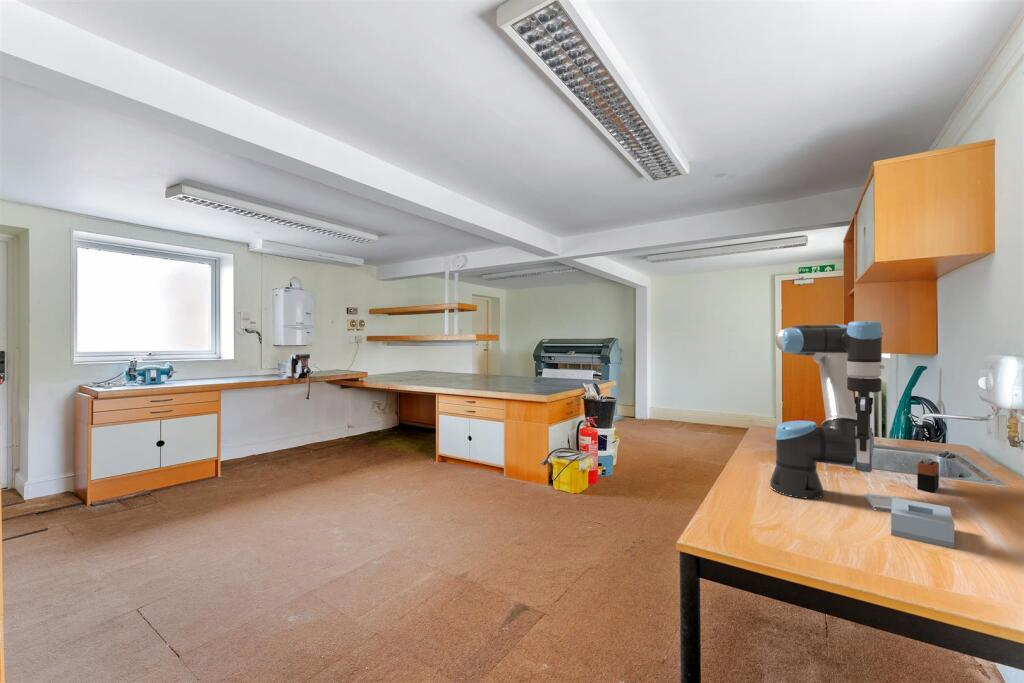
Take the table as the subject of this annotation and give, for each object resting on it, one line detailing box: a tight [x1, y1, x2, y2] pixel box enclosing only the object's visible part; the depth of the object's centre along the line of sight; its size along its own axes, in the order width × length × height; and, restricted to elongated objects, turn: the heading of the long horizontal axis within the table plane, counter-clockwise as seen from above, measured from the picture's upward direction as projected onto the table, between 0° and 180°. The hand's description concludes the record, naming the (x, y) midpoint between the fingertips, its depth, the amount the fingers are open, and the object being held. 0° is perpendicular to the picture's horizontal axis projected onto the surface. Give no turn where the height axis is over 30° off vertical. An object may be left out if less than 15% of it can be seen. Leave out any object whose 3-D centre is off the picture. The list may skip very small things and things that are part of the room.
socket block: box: [890, 496, 955, 549], centre depth 122 cm, size 12×14×6 cm
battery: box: [916, 458, 940, 493], centre depth 152 cm, size 4×7×10 cm, turn 127°
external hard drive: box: [863, 492, 897, 513], centre depth 140 cm, size 2×8×12 cm
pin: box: [854, 426, 873, 473], centre depth 126 cm, size 4×4×12 cm
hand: (863, 460), depth 126 cm, fingers closed on pin, 3 cm apart
